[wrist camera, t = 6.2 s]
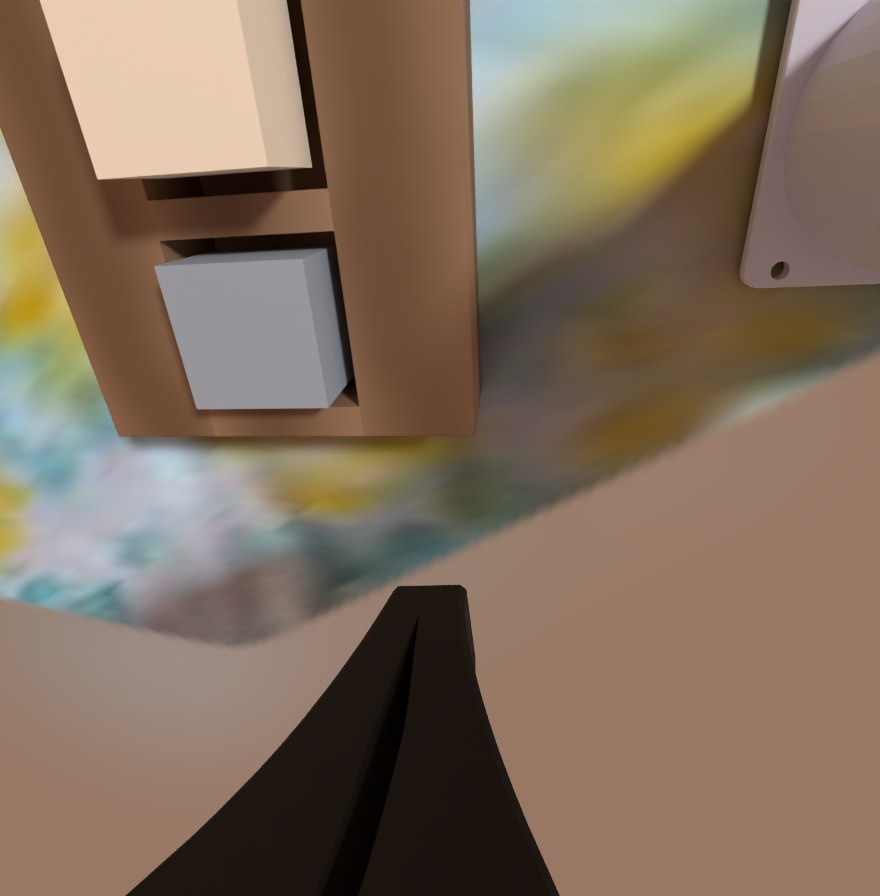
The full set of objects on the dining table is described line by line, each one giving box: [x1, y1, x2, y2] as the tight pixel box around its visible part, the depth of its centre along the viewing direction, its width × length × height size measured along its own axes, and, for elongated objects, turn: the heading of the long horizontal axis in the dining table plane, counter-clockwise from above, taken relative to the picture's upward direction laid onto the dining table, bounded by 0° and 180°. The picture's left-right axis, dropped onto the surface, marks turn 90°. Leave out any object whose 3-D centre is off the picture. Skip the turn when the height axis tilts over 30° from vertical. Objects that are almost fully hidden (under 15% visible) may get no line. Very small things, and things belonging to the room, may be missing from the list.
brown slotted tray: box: [0, 0, 481, 436], centre depth 14 cm, size 12×19×4 cm, turn 3°
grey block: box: [154, 245, 355, 409], centre depth 15 cm, size 4×4×3 cm
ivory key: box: [40, 0, 312, 180], centre depth 12 cm, size 4×4×3 cm
